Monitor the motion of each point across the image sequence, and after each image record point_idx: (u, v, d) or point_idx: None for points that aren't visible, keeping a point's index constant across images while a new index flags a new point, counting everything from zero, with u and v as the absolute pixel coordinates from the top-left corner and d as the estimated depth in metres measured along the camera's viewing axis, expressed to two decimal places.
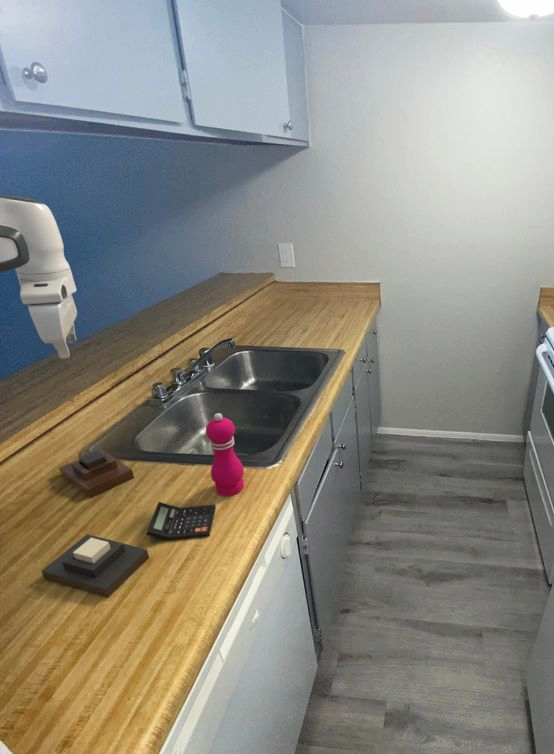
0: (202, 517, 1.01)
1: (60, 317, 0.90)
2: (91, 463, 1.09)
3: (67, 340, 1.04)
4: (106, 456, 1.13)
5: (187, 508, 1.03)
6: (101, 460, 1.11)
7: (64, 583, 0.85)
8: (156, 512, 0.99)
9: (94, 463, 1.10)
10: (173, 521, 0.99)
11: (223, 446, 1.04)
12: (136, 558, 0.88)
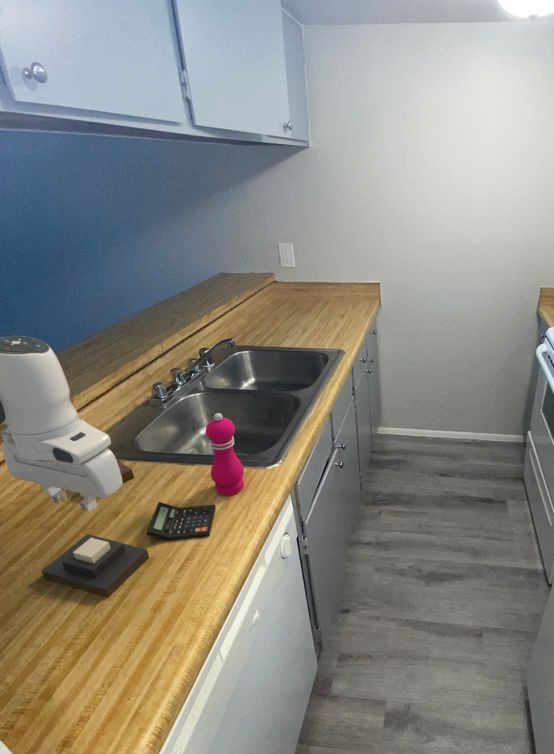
0: (202, 517, 1.01)
1: (116, 462, 0.77)
2: None
3: (59, 500, 0.81)
4: None
5: (187, 508, 1.03)
6: None
7: (64, 583, 0.85)
8: (156, 512, 0.99)
9: None
10: (173, 521, 0.99)
11: (223, 446, 1.04)
12: (136, 558, 0.88)
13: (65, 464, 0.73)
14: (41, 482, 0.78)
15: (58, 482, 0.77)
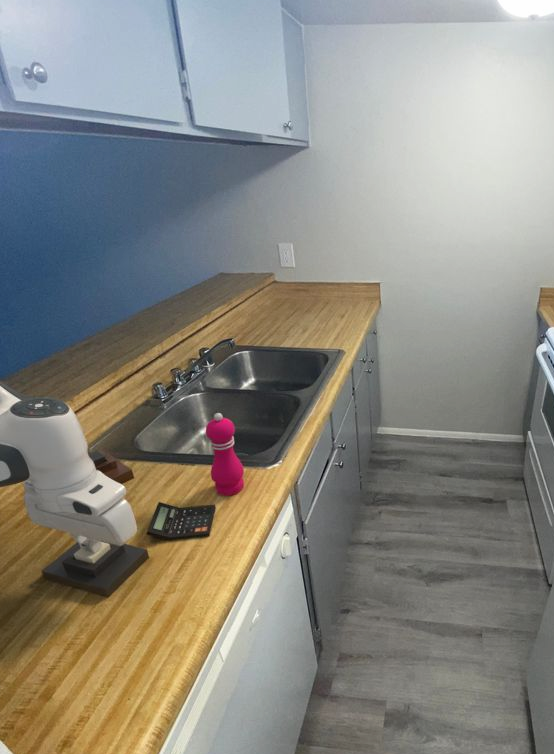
0: (202, 517, 1.01)
1: (131, 510, 0.82)
2: None
3: None
4: (106, 456, 1.13)
5: (187, 508, 1.03)
6: (101, 460, 1.11)
7: (64, 583, 0.85)
8: (156, 512, 0.99)
9: (94, 463, 1.10)
10: (173, 521, 0.99)
11: (223, 446, 1.04)
12: (136, 558, 0.88)
13: (84, 515, 0.78)
14: (60, 529, 0.83)
15: (76, 530, 0.82)
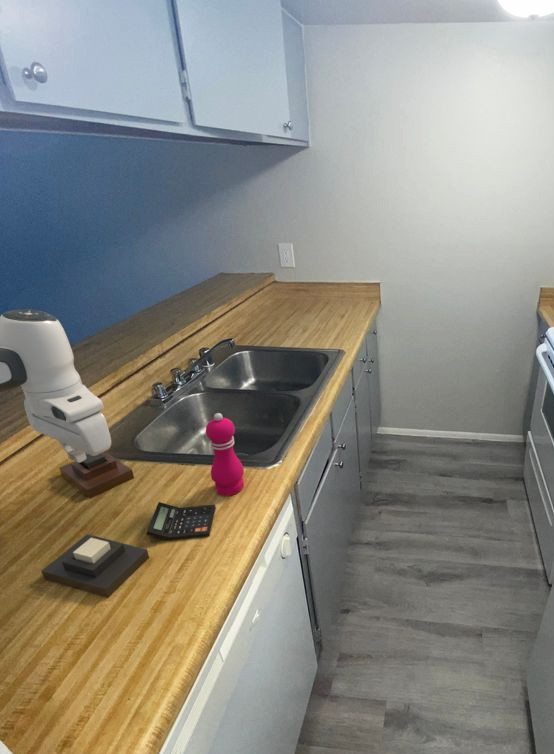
0: (202, 517, 1.01)
1: (106, 425, 0.87)
2: (91, 463, 1.09)
3: None
4: (106, 456, 1.13)
5: (187, 508, 1.03)
6: (101, 460, 1.11)
7: (64, 583, 0.85)
8: (156, 512, 0.99)
9: (94, 463, 1.10)
10: (173, 521, 0.99)
11: (223, 446, 1.04)
12: (136, 558, 0.88)
13: (62, 421, 0.84)
14: (50, 436, 0.91)
15: (61, 437, 0.89)
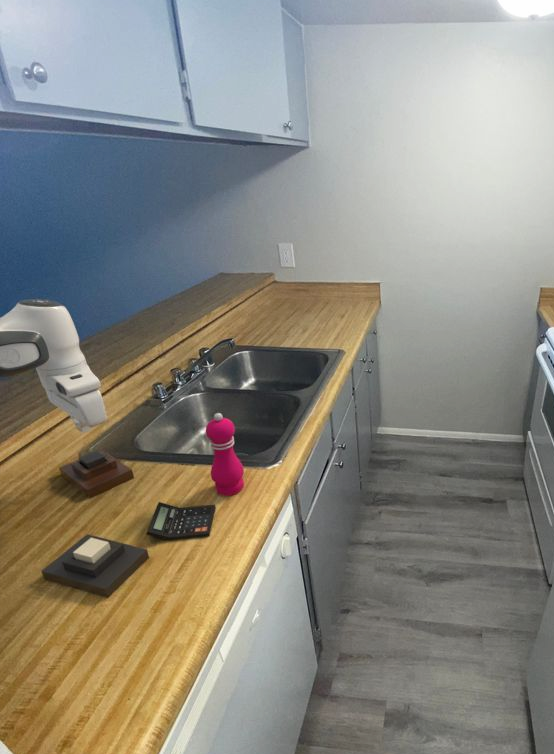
0: (202, 517, 1.01)
1: None
2: (91, 463, 1.09)
3: None
4: (106, 456, 1.13)
5: (187, 508, 1.03)
6: (101, 460, 1.11)
7: (64, 583, 0.85)
8: (156, 512, 0.99)
9: (94, 463, 1.10)
10: (173, 521, 0.99)
11: (223, 446, 1.04)
12: (136, 558, 0.88)
13: (65, 396, 0.97)
14: (61, 408, 1.05)
15: (68, 410, 1.03)
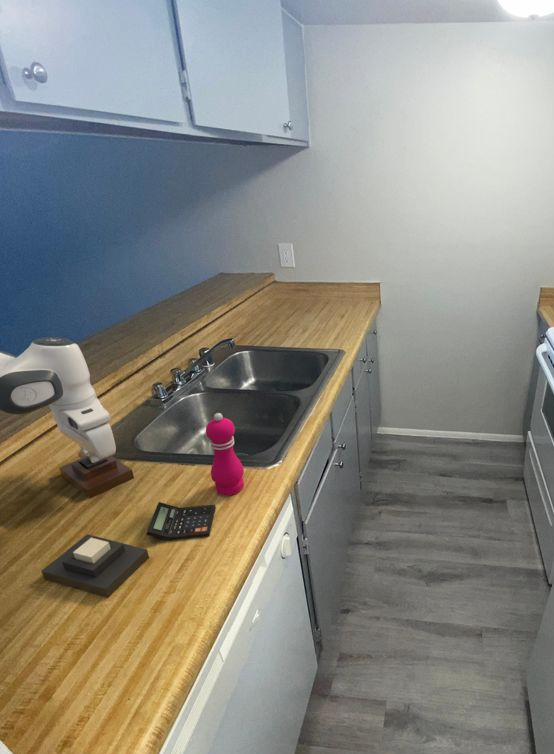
0: (202, 517, 1.01)
1: (112, 434, 1.03)
2: (92, 466, 1.09)
3: None
4: None
5: (187, 508, 1.03)
6: None
7: (64, 583, 0.85)
8: (156, 512, 0.99)
9: None
10: (173, 521, 0.99)
11: (223, 446, 1.04)
12: (136, 558, 0.88)
13: (76, 429, 1.01)
14: (71, 439, 1.09)
15: (78, 441, 1.06)
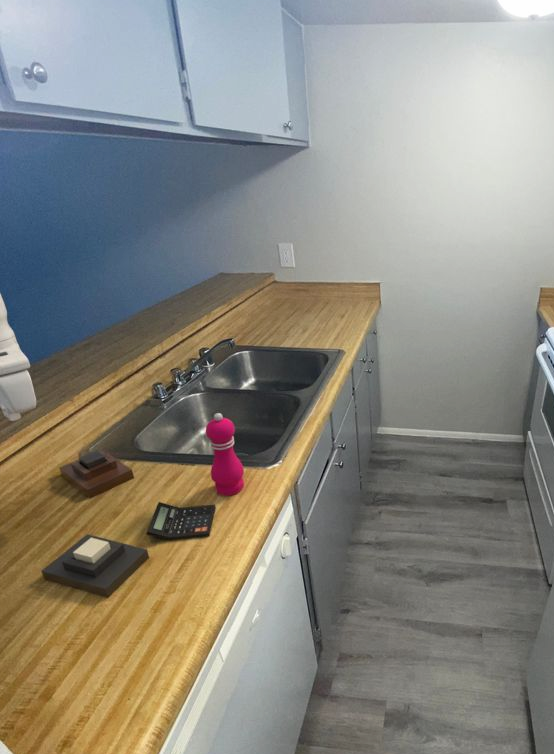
0: (202, 517, 1.01)
1: (32, 384, 0.87)
2: (91, 463, 1.09)
3: None
4: (106, 456, 1.13)
5: (187, 508, 1.03)
6: (101, 460, 1.11)
7: (64, 583, 0.85)
8: (156, 512, 0.99)
9: (94, 463, 1.10)
10: (173, 521, 0.99)
11: (223, 446, 1.04)
12: (136, 558, 0.88)
13: None
14: None
15: None
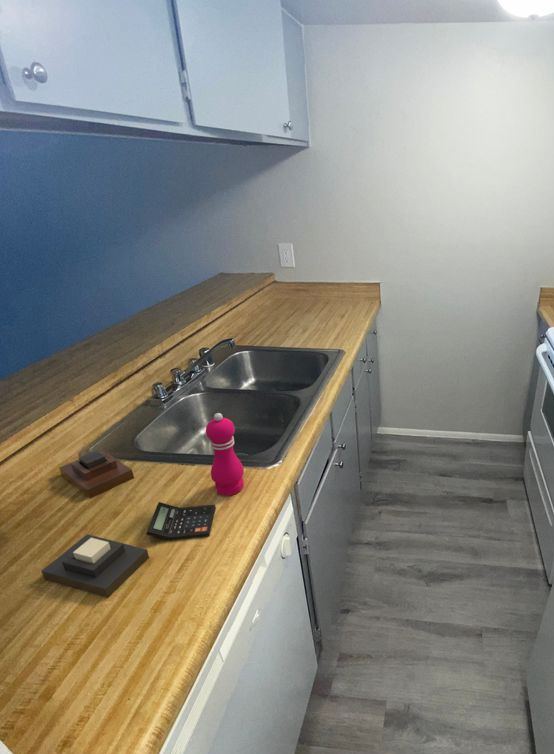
0: (202, 517, 1.01)
1: None
2: (91, 463, 1.09)
3: None
4: (106, 456, 1.13)
5: (187, 508, 1.03)
6: (101, 460, 1.11)
7: (64, 583, 0.85)
8: (156, 512, 0.99)
9: (94, 463, 1.10)
10: (173, 521, 0.99)
11: (223, 446, 1.04)
12: (136, 558, 0.88)
13: None
14: None
15: None
